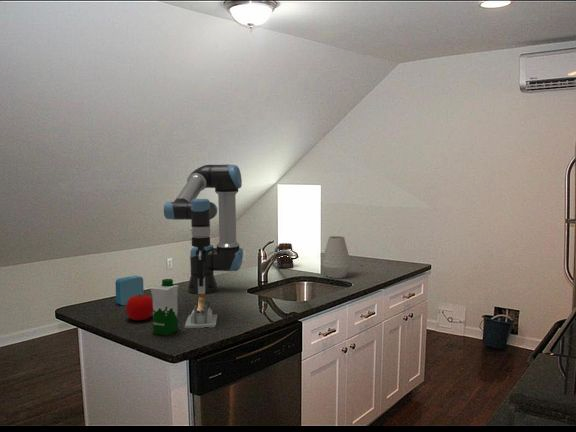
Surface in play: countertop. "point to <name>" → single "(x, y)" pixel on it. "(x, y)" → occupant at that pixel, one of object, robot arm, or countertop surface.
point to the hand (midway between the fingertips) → (201, 292)
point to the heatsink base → (201, 325)
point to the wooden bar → (201, 303)
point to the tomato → (139, 307)
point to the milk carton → (165, 308)
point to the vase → (336, 258)
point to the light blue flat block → (128, 288)
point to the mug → (284, 257)
